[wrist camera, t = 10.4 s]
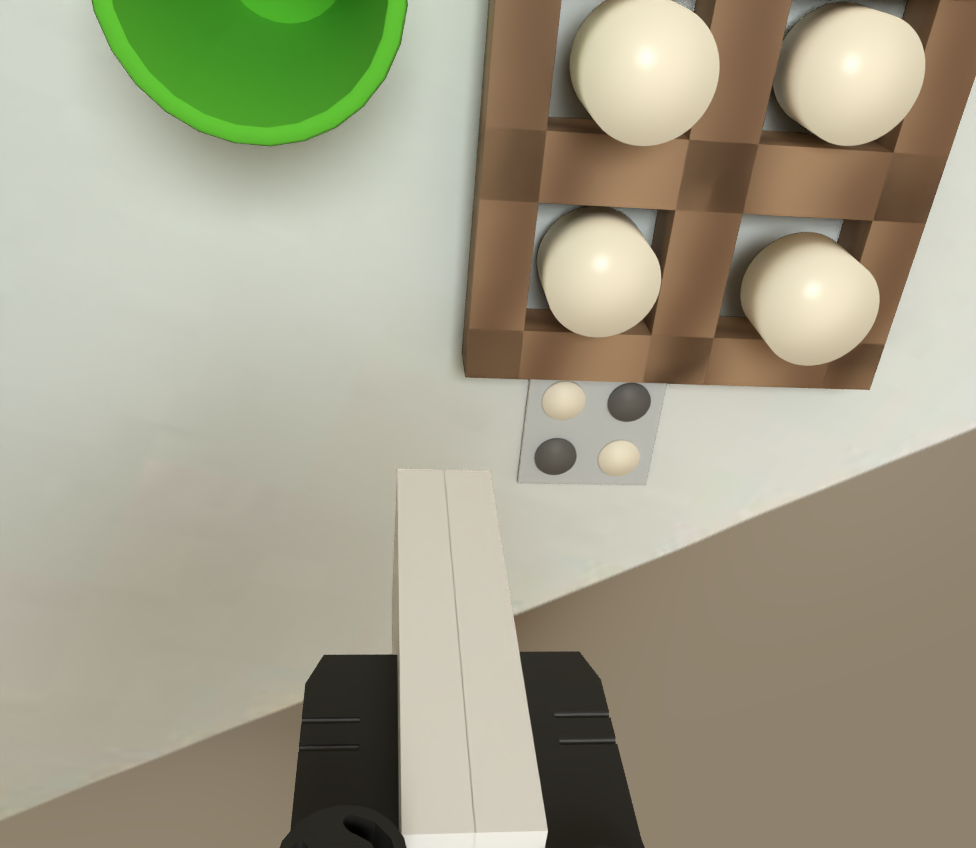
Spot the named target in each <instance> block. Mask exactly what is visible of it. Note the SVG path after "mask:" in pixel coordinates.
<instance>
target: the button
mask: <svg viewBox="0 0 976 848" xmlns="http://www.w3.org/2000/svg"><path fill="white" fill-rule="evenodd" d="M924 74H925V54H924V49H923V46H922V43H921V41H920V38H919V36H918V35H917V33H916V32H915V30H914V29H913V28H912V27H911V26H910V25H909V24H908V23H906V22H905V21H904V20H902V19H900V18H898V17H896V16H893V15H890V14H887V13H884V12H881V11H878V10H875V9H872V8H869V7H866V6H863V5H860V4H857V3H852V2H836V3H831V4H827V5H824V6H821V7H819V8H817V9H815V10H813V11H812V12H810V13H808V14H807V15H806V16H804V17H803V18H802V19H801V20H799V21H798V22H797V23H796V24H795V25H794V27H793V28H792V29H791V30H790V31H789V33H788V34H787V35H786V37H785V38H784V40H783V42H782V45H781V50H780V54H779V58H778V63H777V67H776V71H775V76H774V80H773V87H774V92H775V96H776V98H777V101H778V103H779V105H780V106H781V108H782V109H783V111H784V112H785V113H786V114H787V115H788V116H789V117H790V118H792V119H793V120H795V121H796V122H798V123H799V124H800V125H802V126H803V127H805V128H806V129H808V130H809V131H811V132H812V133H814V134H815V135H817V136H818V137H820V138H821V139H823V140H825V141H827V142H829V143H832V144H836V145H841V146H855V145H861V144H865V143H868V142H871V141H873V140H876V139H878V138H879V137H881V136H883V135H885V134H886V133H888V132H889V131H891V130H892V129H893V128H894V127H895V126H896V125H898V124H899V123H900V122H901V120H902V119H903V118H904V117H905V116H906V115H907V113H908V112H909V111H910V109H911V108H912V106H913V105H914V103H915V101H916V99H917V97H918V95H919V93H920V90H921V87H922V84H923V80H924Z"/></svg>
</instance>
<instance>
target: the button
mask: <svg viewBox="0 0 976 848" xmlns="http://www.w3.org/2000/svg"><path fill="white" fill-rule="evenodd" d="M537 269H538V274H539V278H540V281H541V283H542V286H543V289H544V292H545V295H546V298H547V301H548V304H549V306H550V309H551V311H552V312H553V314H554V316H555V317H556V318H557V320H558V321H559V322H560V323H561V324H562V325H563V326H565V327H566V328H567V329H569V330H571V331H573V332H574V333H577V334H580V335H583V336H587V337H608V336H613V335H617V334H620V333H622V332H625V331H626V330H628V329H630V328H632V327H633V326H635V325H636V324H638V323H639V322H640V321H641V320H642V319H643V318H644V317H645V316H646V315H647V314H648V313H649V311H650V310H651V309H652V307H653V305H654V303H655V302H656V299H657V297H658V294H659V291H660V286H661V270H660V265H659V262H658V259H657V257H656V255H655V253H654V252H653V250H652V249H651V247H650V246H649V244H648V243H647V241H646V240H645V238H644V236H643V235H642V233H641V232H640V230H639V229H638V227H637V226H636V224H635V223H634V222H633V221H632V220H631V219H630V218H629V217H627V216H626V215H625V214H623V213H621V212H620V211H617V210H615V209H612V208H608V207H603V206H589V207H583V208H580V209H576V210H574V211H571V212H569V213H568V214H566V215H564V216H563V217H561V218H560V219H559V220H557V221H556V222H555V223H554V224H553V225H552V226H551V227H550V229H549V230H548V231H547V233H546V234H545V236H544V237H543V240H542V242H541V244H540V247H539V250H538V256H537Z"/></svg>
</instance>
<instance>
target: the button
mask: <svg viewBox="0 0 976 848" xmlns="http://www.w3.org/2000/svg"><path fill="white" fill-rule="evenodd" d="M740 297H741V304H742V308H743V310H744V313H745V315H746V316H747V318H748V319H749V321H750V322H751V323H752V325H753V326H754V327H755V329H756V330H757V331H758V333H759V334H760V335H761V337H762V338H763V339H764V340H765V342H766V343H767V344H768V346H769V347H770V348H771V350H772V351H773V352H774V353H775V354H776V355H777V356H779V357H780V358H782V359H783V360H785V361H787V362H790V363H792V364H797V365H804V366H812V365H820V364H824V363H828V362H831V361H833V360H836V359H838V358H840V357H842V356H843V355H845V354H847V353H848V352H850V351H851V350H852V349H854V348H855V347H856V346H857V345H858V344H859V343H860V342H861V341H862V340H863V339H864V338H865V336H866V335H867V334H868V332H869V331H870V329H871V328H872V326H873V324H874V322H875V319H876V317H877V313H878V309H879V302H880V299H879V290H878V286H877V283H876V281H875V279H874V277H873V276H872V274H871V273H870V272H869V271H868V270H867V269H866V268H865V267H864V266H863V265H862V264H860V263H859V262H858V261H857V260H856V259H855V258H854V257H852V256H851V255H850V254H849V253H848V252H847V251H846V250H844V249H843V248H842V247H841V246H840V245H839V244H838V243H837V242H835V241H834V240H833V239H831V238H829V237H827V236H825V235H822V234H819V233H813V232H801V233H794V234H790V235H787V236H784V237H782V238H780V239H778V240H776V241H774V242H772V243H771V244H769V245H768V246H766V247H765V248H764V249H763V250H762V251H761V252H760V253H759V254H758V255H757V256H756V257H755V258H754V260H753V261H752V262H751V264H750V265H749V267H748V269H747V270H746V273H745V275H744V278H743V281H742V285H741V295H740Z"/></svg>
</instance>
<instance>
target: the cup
mask: <svg viewBox="0 0 976 848" xmlns="http://www.w3.org/2000/svg"><path fill="white" fill-rule="evenodd" d="M92 4H93V9H94V12H95V15H96V17H97V19H98V21H99V24H100V26H101V28H102V30H103V33H104V35H105V37H106V39H107V42H108V44H109V46H110V48H111V50H112V52H113V53H114V55H115V56H116V57H117V59H118V60H119V62H120V63H121V64H122V66H123V67H124V69H125V70H126V71H127V73H128V74H129V75H130V77H131V78H132V80H133V81H134V82H135V84H136V85H137V86H138V87H139V88H140V89H142V90H143V91H144V92H145V93H146V94H147V95H148V96H149V97H150V98H151V99H152V100H154V101H155V102H156V103H157V104H158V105H159V106H160V107H161V108H162V109H163V110H164V111H166V112H167V113H169V114H171V115H172V116H174V117H176V118H177V119H179V120H181V121H182V122H184V123H186V124H187V125H189V126H191V127H193V128H194V129H196V130H198V131H200V132H203V133H206V134H209V135H212V136H215V137H218V138H221V139H224V140H227V141H230V142H233V143H240V144H251V145H262V146H275V145H282V144H288V143H295V142H301V141H306V140H308V139H311V138H313V137H315V136H318V135H320V134H322V133H325V132H327V131H329V130H332V129H334V128H336V127H338V126H339V125H340V124H342V123H343V122H344V121H345V120H347V119H348V118H349V117H351V116H352V115H353V114H355V113H356V112H357V111H358V110H360V109H361V108H362V107H364V105H365V104H366V103H367V102H368V100H369V99H370V98H371V96H372V95H373V94H374V93H375V91H376V90H377V89H378V87H379V86H380V85H381V84H382V82H383V81H384V80H385V78H386V76H387V74H388V72H389V70H390V67H391V65H392V63H393V60H394V58H395V56H396V54H397V51H398V49H399V47H400V44H401V40H402V34H403V29H404V23H405V17H406V12H407V6H408V2H407V0H92Z"/></svg>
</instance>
